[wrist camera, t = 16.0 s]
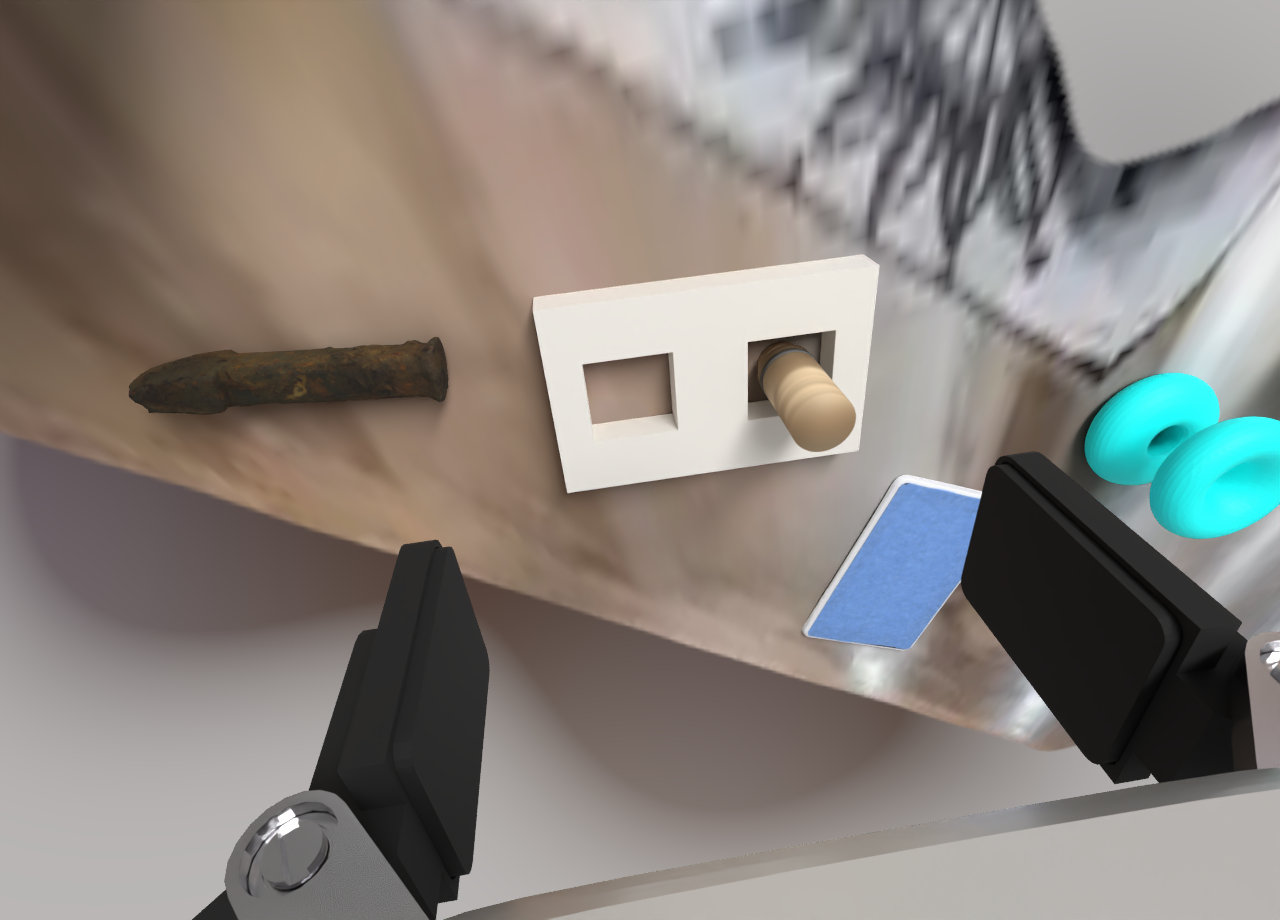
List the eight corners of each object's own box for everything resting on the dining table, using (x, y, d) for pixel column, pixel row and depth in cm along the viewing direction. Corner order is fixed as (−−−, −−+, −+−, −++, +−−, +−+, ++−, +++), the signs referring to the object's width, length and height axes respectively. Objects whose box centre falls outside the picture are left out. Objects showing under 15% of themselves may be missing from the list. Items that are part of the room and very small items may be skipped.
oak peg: (751, 339, 46) (792, 398, 38) (808, 331, 46) (859, 389, 38) (751, 391, 48) (789, 456, 40) (805, 383, 48) (853, 447, 41)
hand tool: (446, 328, 43) (436, 356, 39) (453, 383, 45) (444, 415, 41) (133, 328, 41) (89, 359, 37) (156, 387, 43) (117, 421, 39)
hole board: (533, 297, 42) (532, 310, 40) (863, 254, 43) (879, 265, 41) (566, 474, 50) (567, 493, 48) (845, 433, 51) (858, 450, 49)
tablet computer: (903, 644, 67) (909, 654, 66) (795, 629, 64) (800, 639, 63) (1013, 495, 58) (1022, 504, 57) (893, 468, 54) (901, 477, 53)
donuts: (1217, 432, 42) (1349, 428, 44) (1107, 367, 51) (1220, 365, 52) (1147, 550, 48) (1266, 543, 49) (1057, 473, 56) (1161, 470, 57)
